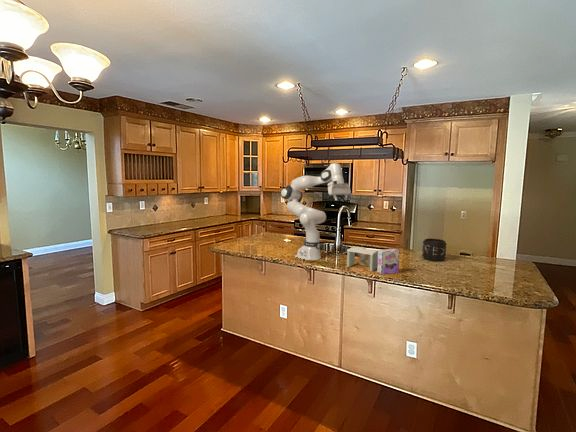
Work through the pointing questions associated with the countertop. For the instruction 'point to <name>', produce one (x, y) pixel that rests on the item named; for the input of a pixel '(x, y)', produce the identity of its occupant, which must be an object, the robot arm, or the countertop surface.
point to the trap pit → (357, 269)
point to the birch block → (364, 259)
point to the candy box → (388, 261)
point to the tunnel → (372, 253)
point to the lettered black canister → (434, 250)
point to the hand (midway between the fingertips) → (341, 200)
